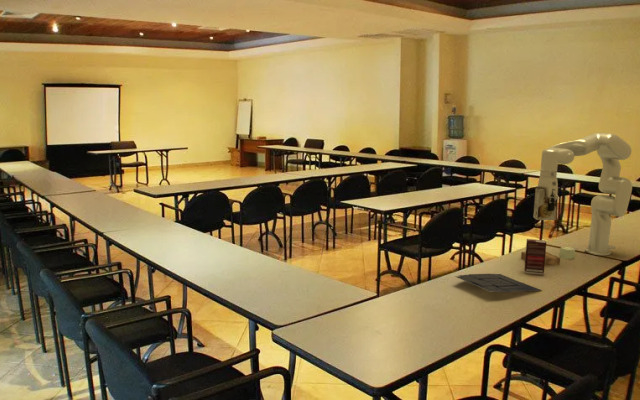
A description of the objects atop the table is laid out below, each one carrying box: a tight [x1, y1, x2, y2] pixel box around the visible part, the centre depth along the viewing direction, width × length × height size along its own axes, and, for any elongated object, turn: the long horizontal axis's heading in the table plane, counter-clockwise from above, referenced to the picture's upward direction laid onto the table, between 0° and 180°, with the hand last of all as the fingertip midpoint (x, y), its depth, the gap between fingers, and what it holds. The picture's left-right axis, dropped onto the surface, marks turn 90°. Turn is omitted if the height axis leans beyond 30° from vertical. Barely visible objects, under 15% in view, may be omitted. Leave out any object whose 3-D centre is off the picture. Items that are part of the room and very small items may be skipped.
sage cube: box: [559, 246, 576, 260], centre depth 268 cm, size 5×5×5 cm
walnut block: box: [520, 251, 561, 267], centre depth 261 cm, size 13×13×4 cm
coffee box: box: [533, 186, 559, 221], centre depth 255 cm, size 9×6×16 cm
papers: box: [454, 273, 541, 293], centre depth 223 cm, size 24×30×4 cm
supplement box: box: [523, 238, 547, 276], centre depth 242 cm, size 9×5×16 cm, turn 71°
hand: (545, 208), depth 256 cm, fingers closed on coffee box, 7 cm apart
